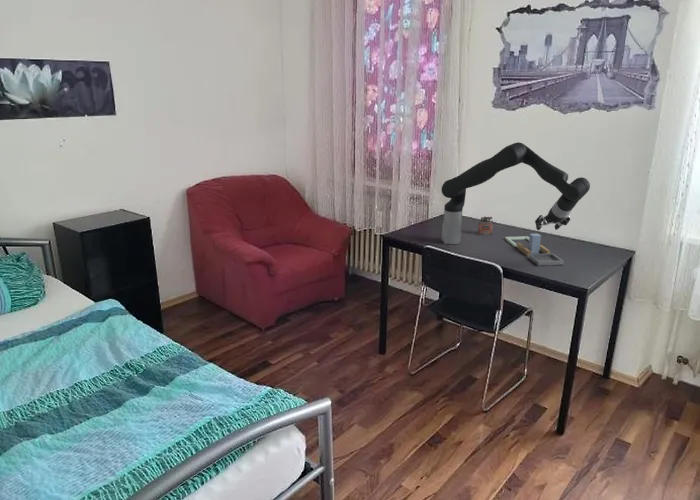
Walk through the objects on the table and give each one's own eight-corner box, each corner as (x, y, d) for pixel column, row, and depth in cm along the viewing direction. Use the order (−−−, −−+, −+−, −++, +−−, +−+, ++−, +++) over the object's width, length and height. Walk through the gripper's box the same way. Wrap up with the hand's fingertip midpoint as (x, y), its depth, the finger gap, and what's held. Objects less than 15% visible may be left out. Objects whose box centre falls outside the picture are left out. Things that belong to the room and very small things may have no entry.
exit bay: (514, 246, 263) (514, 244, 263) (505, 239, 276) (505, 236, 275) (537, 246, 264) (538, 243, 264) (527, 238, 277) (527, 236, 276)
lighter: (478, 235, 283) (479, 217, 280) (476, 233, 286) (478, 216, 283) (493, 235, 283) (494, 217, 280) (491, 233, 286) (492, 215, 283)
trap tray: (538, 266, 236) (538, 261, 236) (528, 258, 247) (528, 254, 246) (563, 265, 237) (564, 261, 237) (552, 257, 248) (553, 253, 247)
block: (531, 253, 253) (533, 236, 250) (527, 250, 257) (529, 233, 254) (539, 253, 254) (541, 235, 251) (535, 250, 257) (537, 233, 254)
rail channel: (527, 256, 249) (528, 251, 248) (516, 247, 262) (516, 242, 262) (549, 255, 250) (550, 250, 249) (537, 246, 263) (537, 242, 262)
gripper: (574, 202, 226) (559, 220, 241) (542, 203, 226) (529, 221, 240) (578, 217, 223) (563, 235, 238) (546, 218, 222) (533, 235, 237)
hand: (546, 228), depth 239 cm, fingers open, 8 cm apart
